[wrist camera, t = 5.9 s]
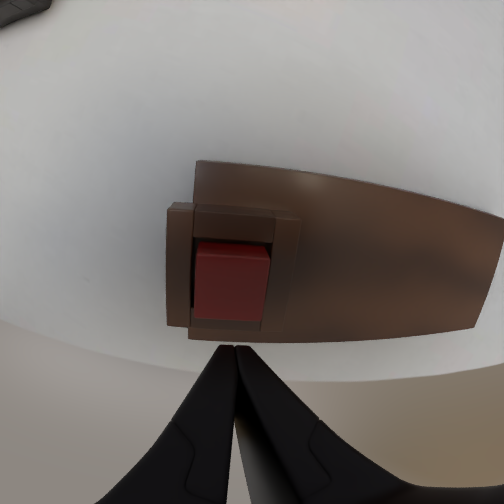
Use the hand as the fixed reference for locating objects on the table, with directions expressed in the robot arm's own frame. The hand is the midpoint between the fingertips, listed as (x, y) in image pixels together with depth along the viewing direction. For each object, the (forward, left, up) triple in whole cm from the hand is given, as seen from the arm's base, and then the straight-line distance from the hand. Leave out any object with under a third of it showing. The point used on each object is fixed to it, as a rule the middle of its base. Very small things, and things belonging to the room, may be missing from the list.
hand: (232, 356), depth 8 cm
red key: (0, 0, -6) cm, 6 cm away
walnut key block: (0, -10, -10) cm, 14 cm away
